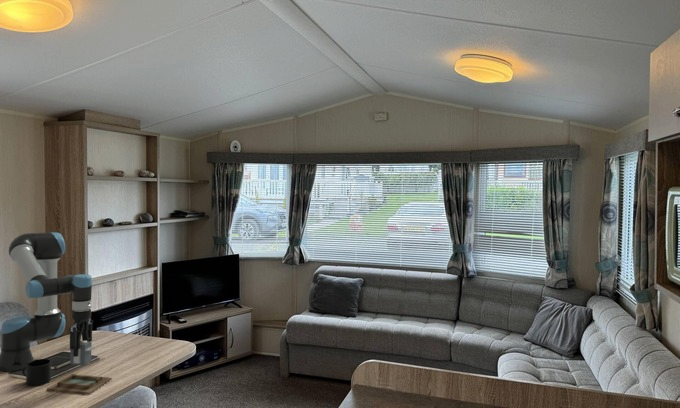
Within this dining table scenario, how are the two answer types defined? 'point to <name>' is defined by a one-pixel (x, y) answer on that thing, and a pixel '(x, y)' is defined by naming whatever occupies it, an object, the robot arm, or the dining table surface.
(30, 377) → the mug
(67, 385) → the tray
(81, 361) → the servo
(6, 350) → the robot arm
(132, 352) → the dining table surface
